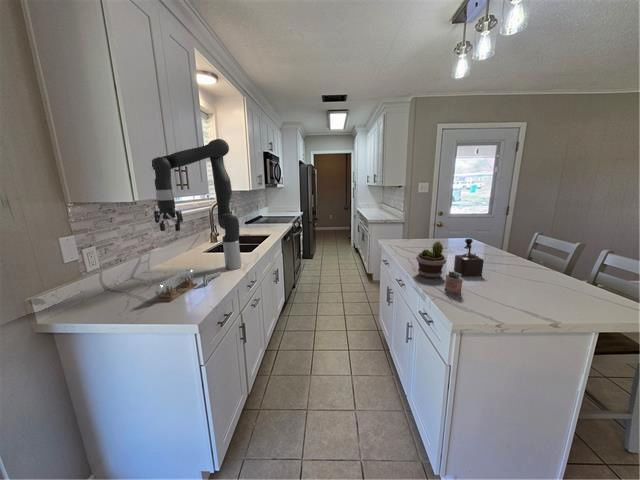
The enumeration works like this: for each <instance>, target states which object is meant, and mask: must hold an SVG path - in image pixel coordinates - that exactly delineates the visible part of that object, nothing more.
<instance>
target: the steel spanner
mask: <svg viewBox="0 0 640 480" xmlns="http://www.w3.org/2000/svg"><path fill="white" fill-rule="evenodd" d="M188 276H190V278H191V279H193V278H194V272H193V269H192V268H188V269H185V270H183V271H181V272H180V273H177V274H175V275H173V276H171V277H169V278H167V279H165V280H163V281H160V282H159V283H157V284H155V285H154V291H155V296H158V295H162V294H164V293H165V292H167V291H169V290H170V286H173V288H174V287H176V286H178V285H180V284H182V283H183V282H185V281H187V280H188Z"/></svg>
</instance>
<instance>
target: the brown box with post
mask: <svg viewBox="0 0 640 480" xmlns="http://www.w3.org/2000/svg"><path fill="white" fill-rule="evenodd" d="M464 241H465V243H466V245H465V246H464V247H463V248H464V249H466V250H468V253H467V252H466V253H464V254H456V255H455V256H454V262H453V263H454V265H453V272H454V271H455V272H456V273H459V274H461V275H462V276H461V277H463V278H466V277H467V278H469V277H470V278H471V277H482V276H483V268H484V262H485V260H484V259H483V258H481V257H479V255H477V254H476V253H474V254H473V253H472V252H471V250H472V243H473V241H474V240H473V239H472V238H466V239H465V240H464Z"/></svg>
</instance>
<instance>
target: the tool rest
mask: <svg viewBox="0 0 640 480" xmlns="http://www.w3.org/2000/svg"><path fill="white" fill-rule="evenodd" d="M196 286H198V283H197V282H196V283H195V282H194V280H193V278H190V276H188V280H187V281H185V282H183V283H182V284H180V285H178V286H176V287H174V288H173V286H170V290H169V291H167V292H165V293H164V294H162V295H157V297H155V298H153V300H154V302H166V303H170V302H172V301H174V300H176V299H177V298H178V297H181V296H182V295H183V294H185V293H187V292H188V291H190V290H192V289H194V288H195V287H196Z"/></svg>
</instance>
